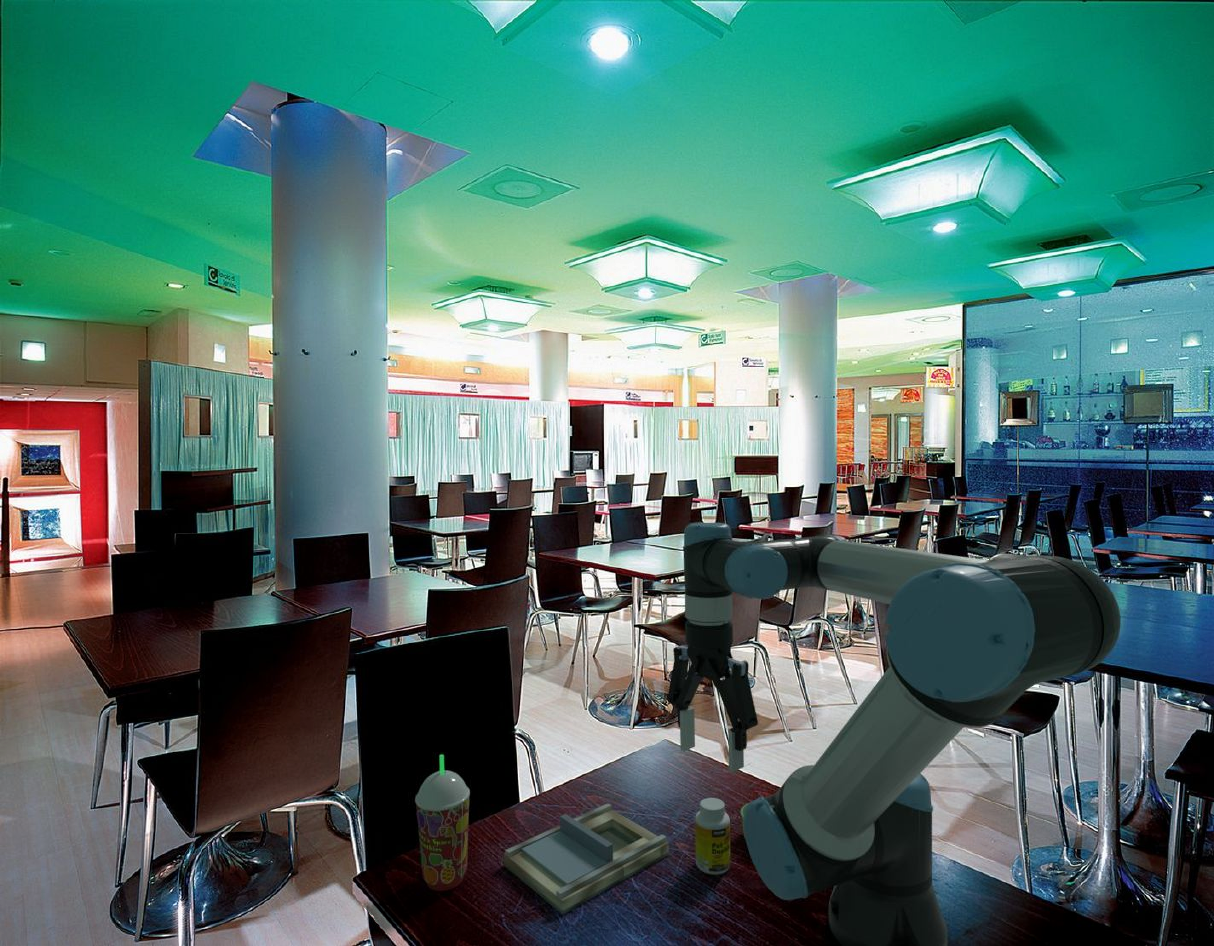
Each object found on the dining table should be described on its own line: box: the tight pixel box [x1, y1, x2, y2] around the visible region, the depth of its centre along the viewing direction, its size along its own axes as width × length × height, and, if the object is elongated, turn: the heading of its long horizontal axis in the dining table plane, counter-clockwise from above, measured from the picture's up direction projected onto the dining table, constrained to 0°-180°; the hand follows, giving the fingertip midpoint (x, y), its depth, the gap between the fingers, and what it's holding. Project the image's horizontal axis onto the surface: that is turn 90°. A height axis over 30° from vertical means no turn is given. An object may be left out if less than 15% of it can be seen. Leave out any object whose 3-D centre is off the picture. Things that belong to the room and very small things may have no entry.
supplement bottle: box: [694, 797, 731, 876], centre depth 110 cm, size 6×6×10 cm
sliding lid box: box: [503, 802, 670, 915], centre depth 113 cm, size 22×16×3 cm
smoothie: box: [414, 754, 471, 892], centre depth 108 cm, size 8×8×20 cm
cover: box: [522, 813, 613, 886], centre depth 110 cm, size 9×12×3 cm
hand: (711, 758), depth 110 cm, fingers open, 9 cm apart
